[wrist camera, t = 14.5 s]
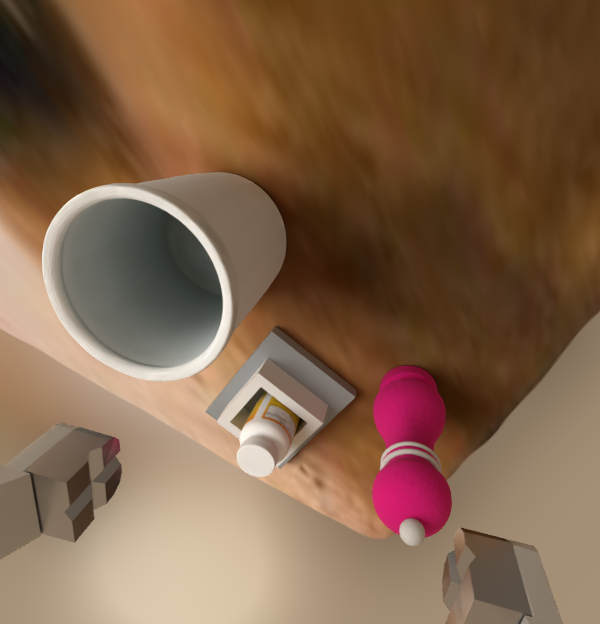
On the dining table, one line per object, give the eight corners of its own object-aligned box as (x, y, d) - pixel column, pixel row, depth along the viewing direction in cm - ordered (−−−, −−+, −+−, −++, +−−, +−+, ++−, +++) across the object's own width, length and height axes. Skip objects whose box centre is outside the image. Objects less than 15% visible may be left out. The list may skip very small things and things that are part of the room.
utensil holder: (279, 319, 48) (219, 407, 32) (159, 285, 50) (45, 353, 34) (305, 186, 42) (247, 214, 26) (167, 154, 44) (33, 161, 28)
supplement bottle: (267, 427, 52) (240, 485, 43) (253, 389, 50) (221, 442, 41) (308, 421, 50) (289, 481, 41) (295, 382, 49) (271, 436, 40)
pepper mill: (395, 349, 46) (392, 485, 28) (455, 380, 46) (490, 537, 28) (364, 397, 49) (342, 547, 31) (419, 426, 49) (430, 594, 31)
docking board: (210, 405, 54) (192, 428, 50) (275, 326, 48) (262, 345, 44) (283, 460, 55) (272, 489, 51) (356, 390, 49) (352, 415, 44)
